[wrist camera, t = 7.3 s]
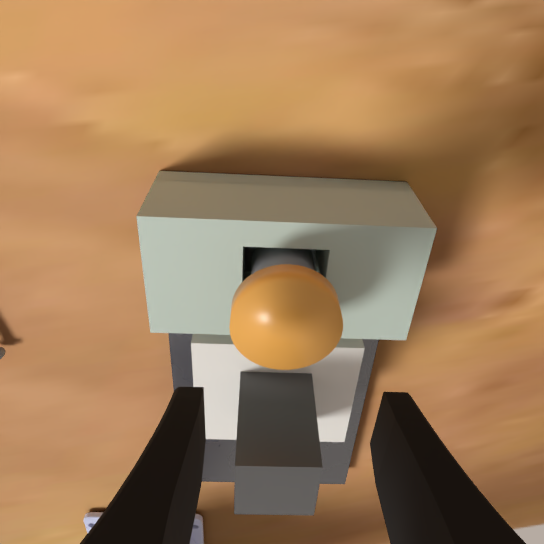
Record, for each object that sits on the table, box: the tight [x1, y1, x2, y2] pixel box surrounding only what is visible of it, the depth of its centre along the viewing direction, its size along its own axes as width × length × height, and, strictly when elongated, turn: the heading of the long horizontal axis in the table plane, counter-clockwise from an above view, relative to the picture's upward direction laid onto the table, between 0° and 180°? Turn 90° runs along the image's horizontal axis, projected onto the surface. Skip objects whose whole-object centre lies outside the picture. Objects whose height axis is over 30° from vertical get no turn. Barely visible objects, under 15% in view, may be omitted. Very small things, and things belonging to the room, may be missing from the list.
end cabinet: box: [137, 171, 437, 340], centre depth 19 cm, size 5×10×4 cm, turn 87°
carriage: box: [191, 334, 365, 515], centre depth 19 cm, size 6×7×6 cm
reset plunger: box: [229, 247, 343, 370], centre depth 17 cm, size 4×4×4 cm
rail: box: [169, 180, 409, 484], centre depth 23 cm, size 20×10×2 cm, turn 177°
